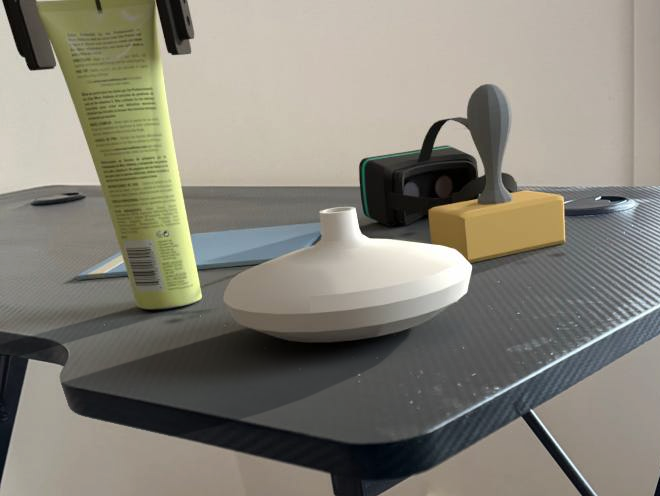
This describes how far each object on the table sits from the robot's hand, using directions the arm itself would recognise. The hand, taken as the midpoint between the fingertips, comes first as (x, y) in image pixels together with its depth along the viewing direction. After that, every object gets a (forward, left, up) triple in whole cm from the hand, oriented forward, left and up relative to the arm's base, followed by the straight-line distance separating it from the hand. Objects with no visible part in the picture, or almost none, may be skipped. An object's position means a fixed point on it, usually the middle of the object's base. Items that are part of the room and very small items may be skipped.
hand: (111, 61), depth 63 cm
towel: (-3, +22, -16) cm, 27 cm away
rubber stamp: (+25, +10, -16) cm, 31 cm away
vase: (+16, -12, -16) cm, 26 cm away
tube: (0, 0, -16) cm, 16 cm away
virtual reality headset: (+20, +26, -16) cm, 36 cm away
